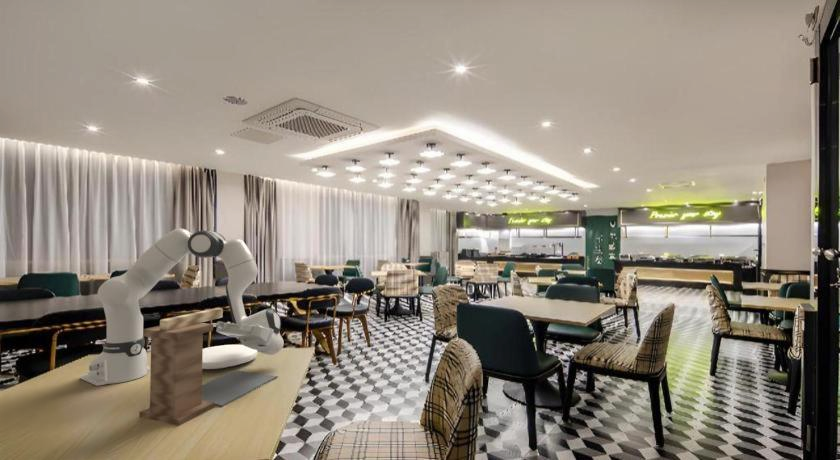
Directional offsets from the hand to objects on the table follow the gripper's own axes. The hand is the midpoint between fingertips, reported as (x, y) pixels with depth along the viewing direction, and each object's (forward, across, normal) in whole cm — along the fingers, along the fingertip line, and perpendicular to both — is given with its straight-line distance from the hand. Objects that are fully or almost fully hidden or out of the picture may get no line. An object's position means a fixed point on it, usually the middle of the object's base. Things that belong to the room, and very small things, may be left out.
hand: (228, 324), depth 134 cm
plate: (-30, -24, +10) cm, 39 cm away
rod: (+14, 0, +4) cm, 15 cm away
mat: (-12, 0, +19) cm, 23 cm away
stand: (+5, 0, +29) cm, 30 cm away
